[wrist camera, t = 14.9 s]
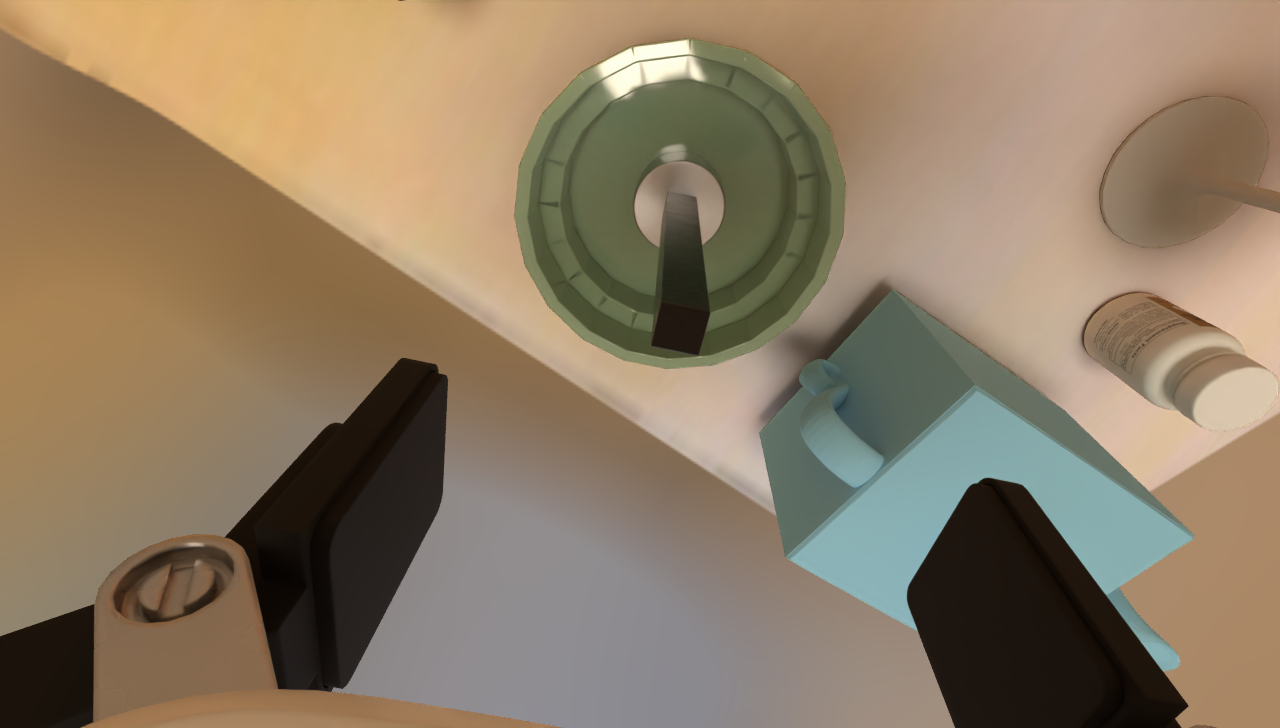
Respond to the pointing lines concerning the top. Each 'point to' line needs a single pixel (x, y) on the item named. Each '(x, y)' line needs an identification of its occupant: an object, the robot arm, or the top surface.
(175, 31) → the top surface
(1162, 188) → the wineglass
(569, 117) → the bowl
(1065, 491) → the teapot
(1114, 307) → the pill bottle
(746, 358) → the top surface
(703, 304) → the square post on disc
